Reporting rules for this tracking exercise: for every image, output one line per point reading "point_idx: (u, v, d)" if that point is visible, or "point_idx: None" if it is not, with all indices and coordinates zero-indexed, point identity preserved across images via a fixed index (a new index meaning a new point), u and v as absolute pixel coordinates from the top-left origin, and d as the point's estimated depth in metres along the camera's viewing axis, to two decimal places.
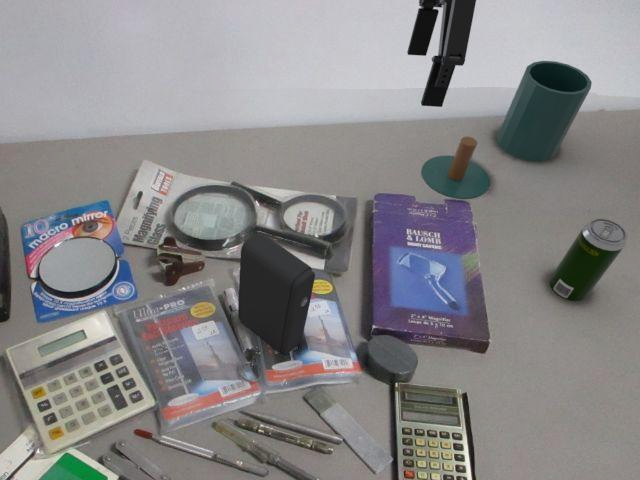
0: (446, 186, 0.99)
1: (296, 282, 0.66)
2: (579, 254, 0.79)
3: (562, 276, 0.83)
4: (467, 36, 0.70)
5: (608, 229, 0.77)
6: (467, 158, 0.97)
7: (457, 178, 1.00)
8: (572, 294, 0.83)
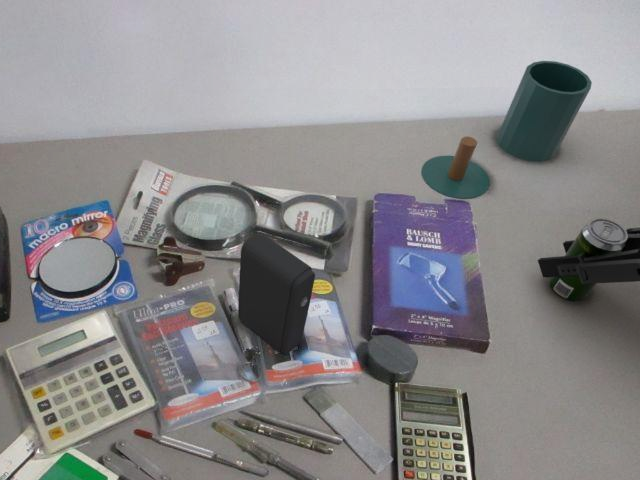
0: (446, 186, 0.99)
1: (296, 282, 0.66)
2: None
3: None
4: None
5: (608, 229, 0.77)
6: (467, 158, 0.97)
7: (457, 178, 1.00)
8: (572, 294, 0.83)
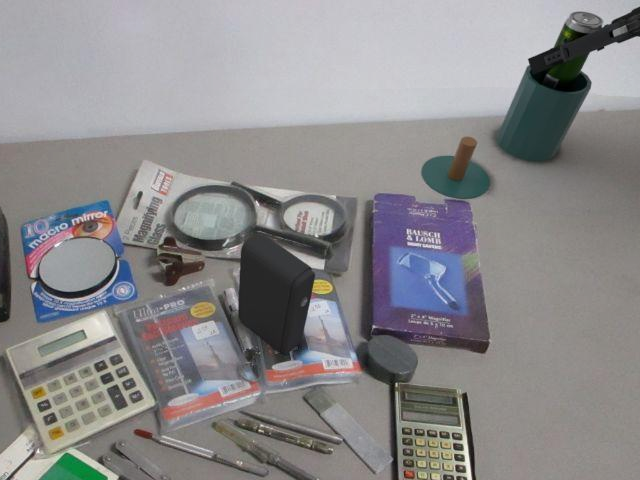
0: (446, 186, 0.99)
1: (296, 282, 0.66)
2: None
3: (548, 70, 0.96)
4: None
5: (587, 18, 0.91)
6: (467, 158, 0.97)
7: (457, 178, 1.00)
8: (557, 86, 0.97)
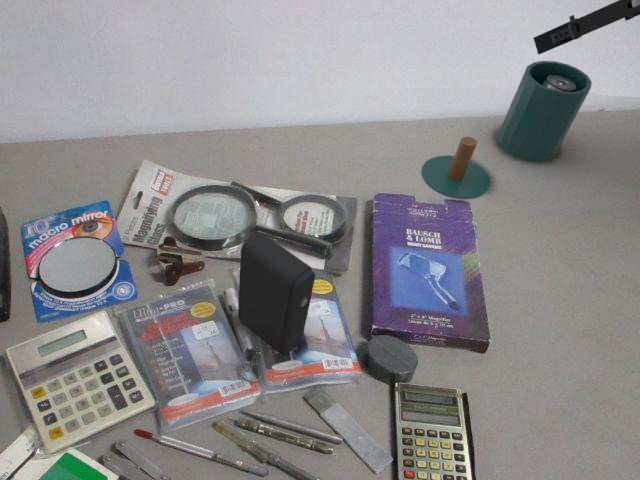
0: (446, 186, 0.99)
1: (296, 282, 0.66)
2: None
3: None
4: None
5: (562, 82, 1.00)
6: (467, 158, 0.97)
7: (457, 178, 1.00)
8: None
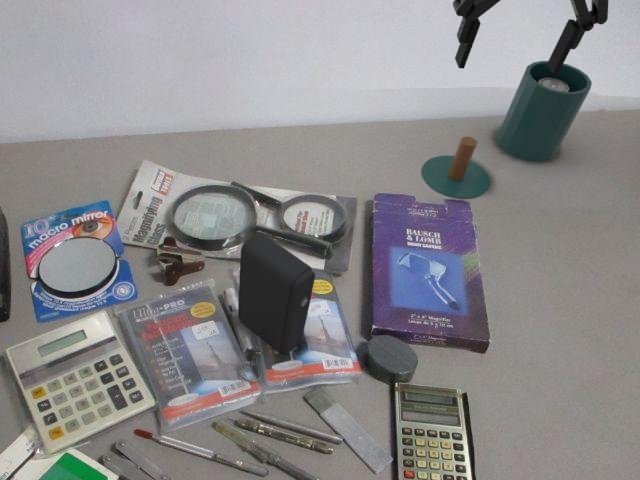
0: (446, 186, 0.99)
1: (296, 282, 0.66)
2: None
3: None
4: None
5: (554, 85, 0.99)
6: (467, 158, 0.97)
7: (457, 178, 1.00)
8: None
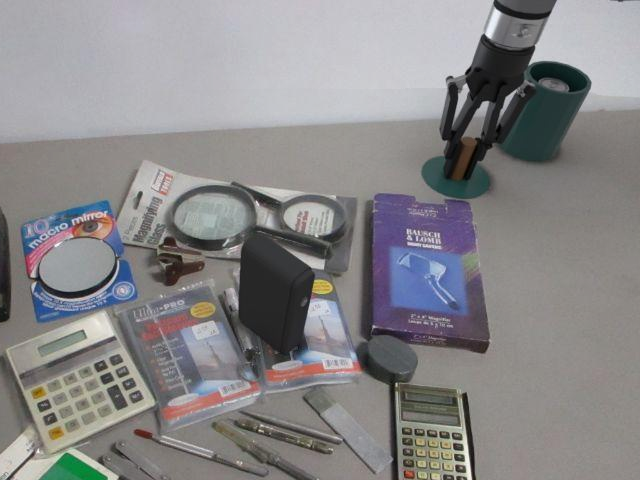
0: (446, 186, 0.99)
1: (296, 282, 0.66)
2: None
3: None
4: None
5: (554, 85, 0.99)
6: (467, 158, 0.97)
7: (457, 178, 1.00)
8: None
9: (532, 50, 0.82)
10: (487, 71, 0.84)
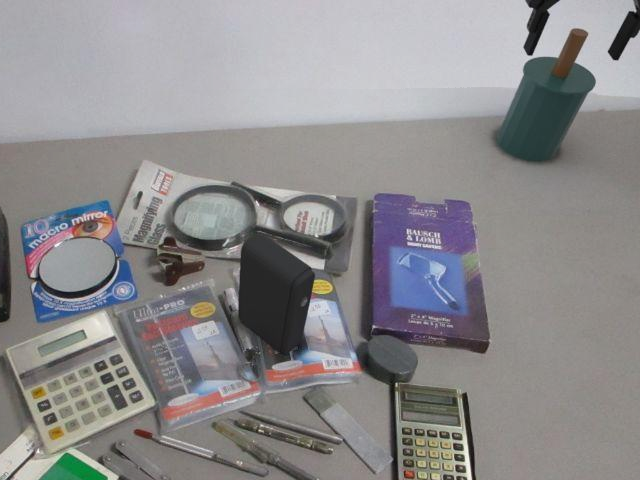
0: (552, 82, 0.96)
1: (296, 282, 0.66)
2: None
3: None
4: None
5: None
6: (577, 50, 0.93)
7: (562, 75, 0.97)
8: None
9: None
10: None
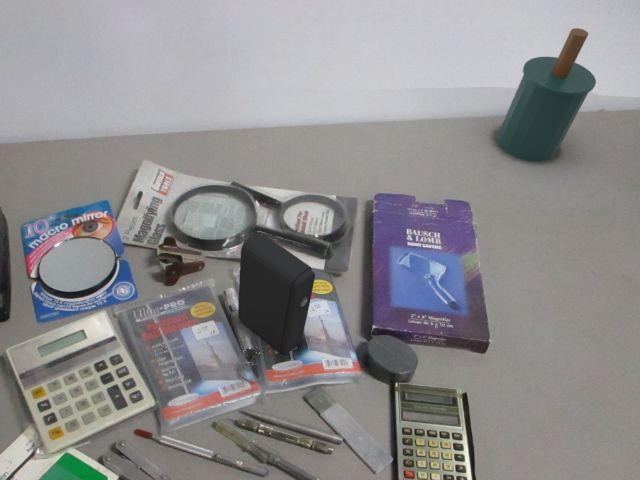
0: (552, 82, 0.96)
1: (296, 282, 0.66)
2: None
3: None
4: None
5: None
6: (577, 50, 0.93)
7: (562, 75, 0.97)
8: None
9: None
10: None
